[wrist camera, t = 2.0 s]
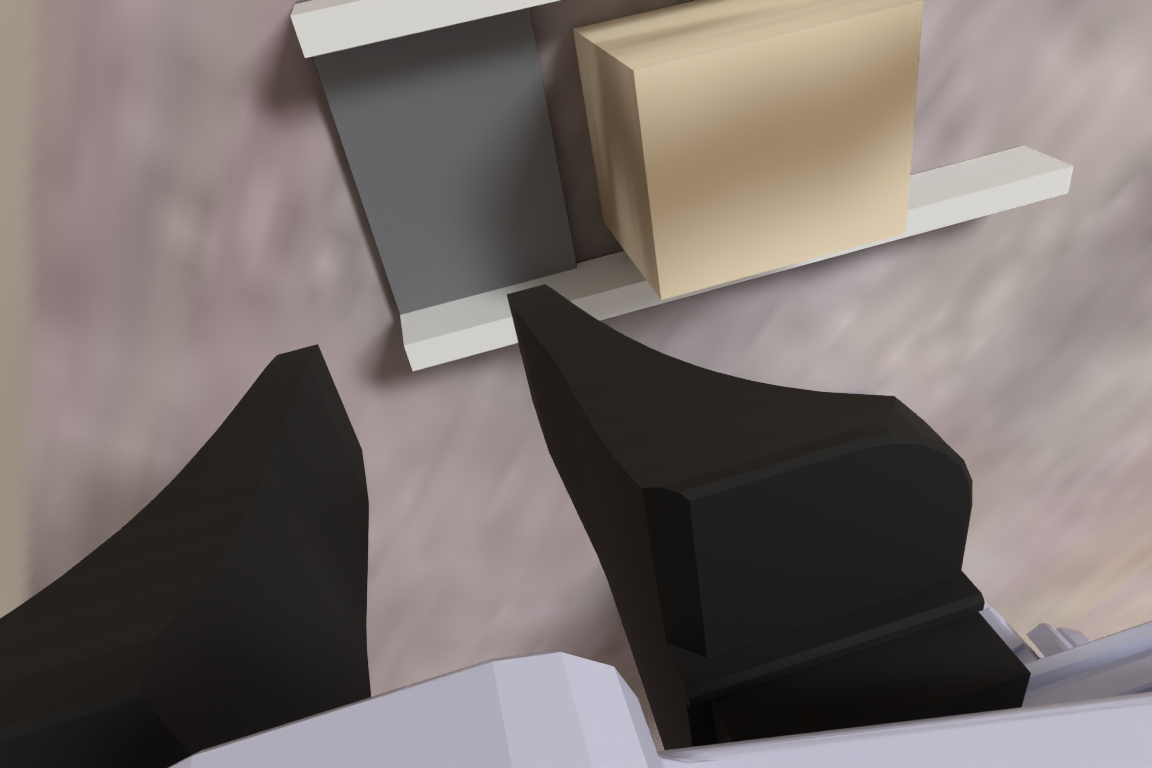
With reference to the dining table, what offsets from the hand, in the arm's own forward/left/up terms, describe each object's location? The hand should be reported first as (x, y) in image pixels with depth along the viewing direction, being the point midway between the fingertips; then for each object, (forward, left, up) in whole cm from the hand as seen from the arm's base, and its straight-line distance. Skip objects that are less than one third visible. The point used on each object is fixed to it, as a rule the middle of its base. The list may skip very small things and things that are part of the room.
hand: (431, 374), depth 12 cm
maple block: (0, -8, -10) cm, 12 cm away
